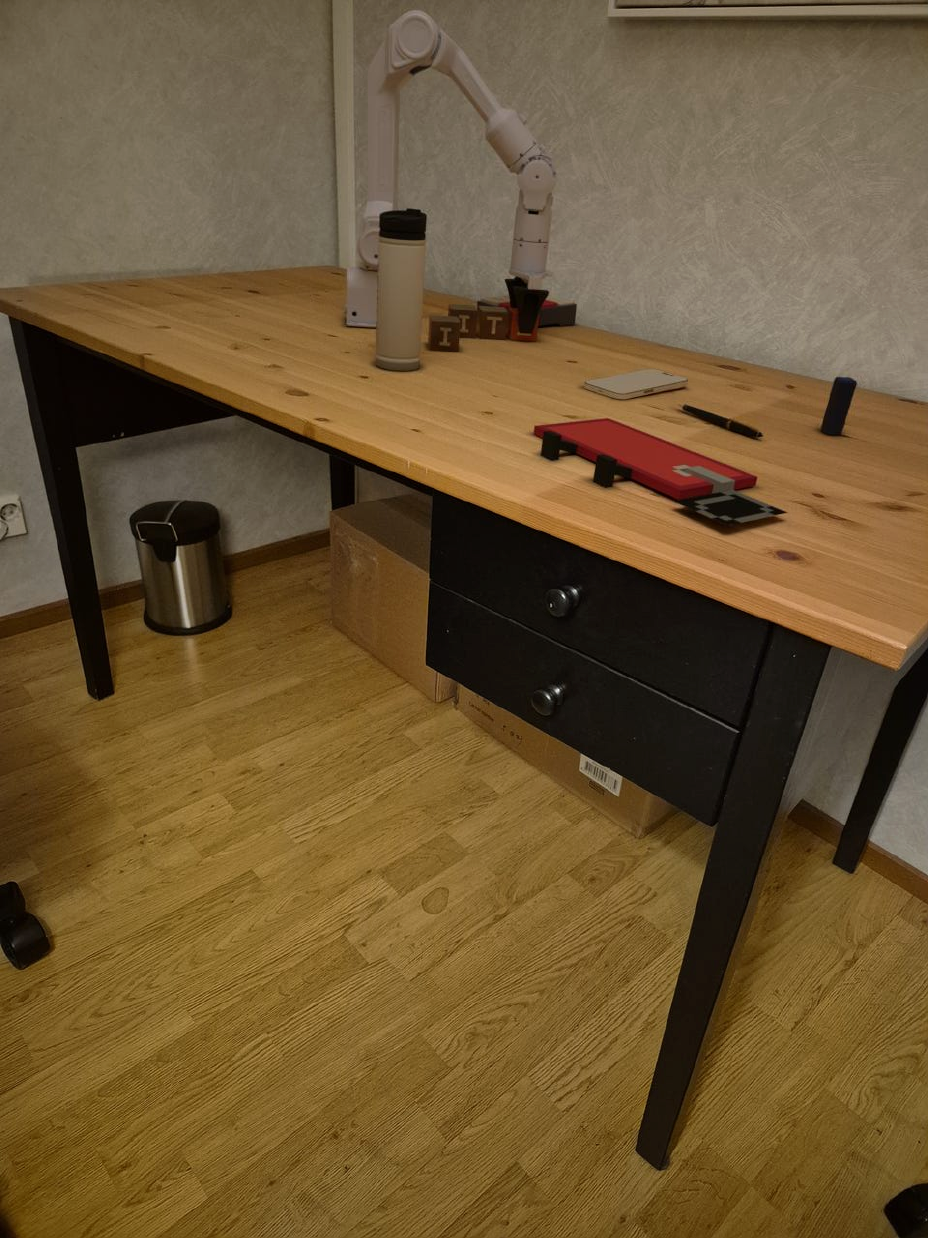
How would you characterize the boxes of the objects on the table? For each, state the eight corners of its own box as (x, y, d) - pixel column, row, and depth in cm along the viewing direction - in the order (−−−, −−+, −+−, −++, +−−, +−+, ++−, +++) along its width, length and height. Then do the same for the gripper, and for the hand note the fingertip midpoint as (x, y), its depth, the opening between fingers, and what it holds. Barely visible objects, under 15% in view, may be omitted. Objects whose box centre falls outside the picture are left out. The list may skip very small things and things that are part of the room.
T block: (479, 338, 142) (481, 310, 140) (476, 332, 146) (478, 305, 144) (505, 339, 143) (508, 312, 140) (501, 334, 146) (504, 307, 144)
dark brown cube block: (449, 336, 141) (451, 308, 139) (447, 331, 145) (448, 303, 143) (476, 338, 142) (478, 310, 140) (472, 332, 146) (474, 305, 144)
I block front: (430, 350, 131) (431, 320, 129) (428, 344, 135) (429, 314, 133) (458, 352, 132) (460, 322, 130) (455, 345, 136) (457, 316, 134)
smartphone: (581, 381, 118) (651, 367, 127) (580, 389, 119) (649, 375, 127) (621, 394, 113) (691, 379, 122) (620, 403, 114) (690, 387, 123)
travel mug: (428, 365, 123) (436, 211, 113) (406, 373, 118) (413, 212, 108) (390, 358, 125) (395, 206, 115) (367, 366, 120) (370, 207, 110)
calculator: (476, 296, 156) (538, 289, 164) (475, 321, 158) (536, 312, 166) (515, 307, 149) (578, 299, 157) (514, 333, 151) (576, 324, 159)
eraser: (818, 430, 108) (834, 375, 105) (835, 431, 109) (851, 376, 105) (825, 435, 107) (841, 380, 103) (842, 436, 107) (859, 381, 103)
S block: (510, 340, 143) (513, 312, 141) (506, 334, 147) (508, 307, 144) (536, 341, 143) (539, 313, 141) (531, 335, 147) (534, 308, 145)
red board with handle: (710, 538, 75) (816, 515, 83) (717, 508, 73) (824, 487, 81) (506, 440, 96) (606, 429, 104) (509, 416, 95) (609, 406, 103)
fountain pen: (670, 409, 112) (673, 397, 111) (677, 408, 113) (679, 396, 112) (759, 442, 102) (762, 429, 101) (765, 440, 103) (768, 428, 102)
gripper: (564, 247, 132) (553, 338, 138) (546, 236, 144) (537, 321, 151) (519, 244, 131) (510, 336, 138) (505, 233, 143) (497, 318, 150)
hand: (521, 328), depth 144 cm, fingers open, 7 cm apart
